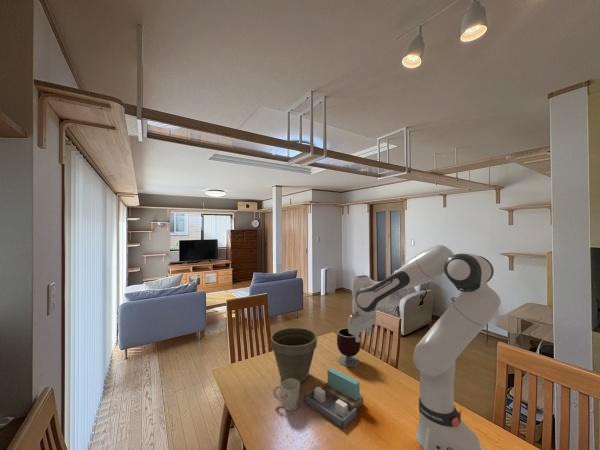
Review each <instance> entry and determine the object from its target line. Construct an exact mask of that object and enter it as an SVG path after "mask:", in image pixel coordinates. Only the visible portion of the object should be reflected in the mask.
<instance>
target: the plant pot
mask: <svg viewBox="0 0 600 450" xmlns="http://www.w3.org/2000/svg"><path fill="white" fill-rule="evenodd" d="M317 343H318V335H317V334H316V332H314V331H313V330H311V329H308V328H303V327H287V328H281V329H278V330H277V331H275V332H273V333H272V334H271V336H270V346H271V349H272V350H273V354H274V357H275V362H276V364H277V369H278V373H279V376H280V378H281V380H282V382H283V381H284V380H286V379H290V378H293V379H296V380H298V381H299V382H300V384H301V383H304V382H305V381H306V380H307V379H308V376H309V373H310V368H311V366H312V365H311V364H312V361H313V358H314V357H313V356H314V353H315V350H316V348H317V346H318V345H317Z"/></svg>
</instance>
